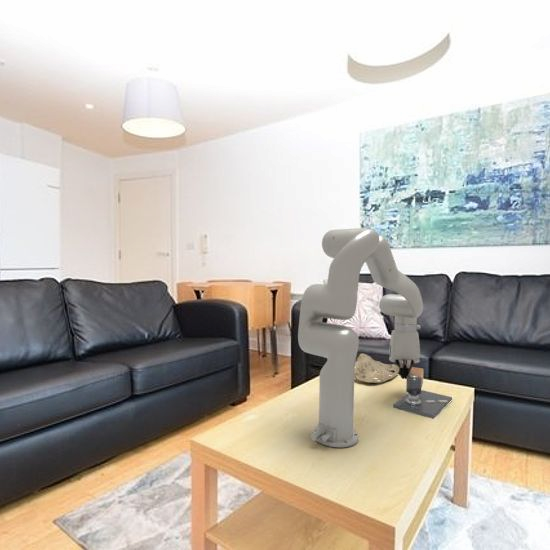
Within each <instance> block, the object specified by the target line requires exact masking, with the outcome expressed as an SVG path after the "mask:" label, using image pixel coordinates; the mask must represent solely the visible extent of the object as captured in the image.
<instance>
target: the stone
mask: <svg viewBox="0 0 550 550" xmlns="http://www.w3.org/2000/svg"><path fill="white" fill-rule="evenodd" d="M393 371H394V372H393ZM398 374H399V365H398V364H396V363H393V364H387V363H383V362H381V361H379V360H378V361H377V360H374V359H373V358H372V357H371V356H369V355H368V354H366V353H360V354H359V355H358V357H356V361H355V371H354V378H356V380H358V381H360V382H365V383H373V384H374V383H375V384H379V383H384V382H386V381H388V380H391V379H393V378H395V377H396V376H398ZM389 375H390V376H389ZM375 378H376V379H375Z"/></svg>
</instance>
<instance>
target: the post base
mask: <svg viewBox="0 0 550 550" xmlns="http://www.w3.org/2000/svg"><path fill="white" fill-rule="evenodd" d="M451 400H452V401H453V397H452V396H448V395H444V394H439V393H435V392H431V391H427V390H423V389H421V394H418V395H415V394H410V393H407V394H405V395H404V396H403V397H401V398H400V399H399V400H397V401H396V402H394V403H393V405H392V408H393V409H397V410H400V411H401V410H402V411H405V412H407V413H411V414H415V415H419V416H422V417H426V418H430V419H435V417H436V416H437V415H438V414H439V413H441V412H442V411H443V410H444V409H445V408H446V407H447V406H448V405H449V404H450V403H451V402H452V401H451ZM450 401H451V402H450ZM449 402H450V403H449ZM448 403H449V404H448ZM447 404H448V405H447ZM446 405H447V406H446ZM445 406H446V407H445ZM444 407H445V408H444ZM443 408H444V409H443ZM442 409H443V410H442ZM441 410H442V411H441Z"/></svg>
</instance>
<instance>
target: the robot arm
mask: <svg viewBox="0 0 550 550" xmlns="http://www.w3.org/2000/svg"><path fill="white" fill-rule="evenodd" d="M321 248H322V250H323V252H324V253H325V255H326V256H327V257H329V258H331V259H332V261H331V263H330V264H329V268H328V275H327V282H326V284H323V283H321V284H320V283H315V284H311V285H309V286H308V287H306V289H305V290H304V292H303V294H302V297H301V302H300V307H299V308H300V311H299V320H298V321H299V322H298V330H297V331H298V332H297V339H298V345H299V348H300V349H301V351H303V352H304V353H307V354H310V355H313V356H318V357H322V358H326V359H327V361H326V362H325V364H324V365H323V366H322V368H321V369H320V372H319V380H318V382H319V387H318V388H319V390H318V391H319V394H318V395H319V397H318V399H319V400H318V423H317V426H315V427H314V428H313V430H312V433H311V434H310V436H309V437H310V439H311V441H313V442H315V441H316V442H318V443H319V444H321V445H323V446H326V447H331V448H337V449H338V448H339V449H340V448H349V447H351V446H354V445H356V444H357V443H358V442H359V439H360V438H359V437H360V436H359V433H358V432H357V430H356V429H355V428H354V406H355V405H354V402H355V401H354V400H355V399H354V398H355V375H354V371H355V368H356V367H355V361H357V355H358V350H359V345H360V344H359V343H360V338H359V336H358V333H357V332H356V330H355V329H353V328H351V327H349V326H346V325H343V324H337V323H329V322H323V319H332V320H339V321H340V320H341V321H346V320H347V321H348V320H350V319H352V318H353V317H354V316H355V314H356V311H357V305H358V304H357V302H358V294H359V293H358V292H359V283H360V274H361V271H362V268H363V267H364V264H366V265H367V268H368V270H369V273H370V276H371V278H372V281H373V282H374V283H375V284H377V285H379V286H380V287H383V288H385V289H386V290H389V291H391V292H393V293H392V294H391V293H390V294H389V293H388V294H385V295H383V296H382V297H381V298H380V300H379V303H378V307H379V310H380V311H381V313H382V314H384V315H386V316H391V317H394V329H393V330H391V335H390V339H389V348H388V349H389V350H388V351H389V353H388V354H389V358H388V360H389V361H390V362H392V363H394V364H396V365H397V366H398V367H399V372H398V374H399V375H398V376H399V377H400V378H401V379H404V380H407V376H408V375H409V373H410V370H409V369H410V367H411V366H412V365H413V364H417V363H420V362H421V360H420V356H421V346H420V338H419V337H420V335H419V332H418V330H421V329H422V328H421V325H419V324H418V323H417V321H418V318H419V317H420V316H422V314H423V311H424V303H423V299H422V294H421V292H420V291H421V290H420V288H419V287H418V286H417V284H416V283H415V282H413V280H412V279H410V278H409V276H407V275H406V274H404V273H403V272H402V271H400V270H398V267H397V264H396V260H395V259H394V258H395V257H394V255H393V253H392V250H391V247H390V243H389V241H388V240H387V238H386V237H385V236H384V235H380V233H378V231H376V230H375V229H373V228H365V227H362V228H361V227H360V228H359V227H356V228H345V229H344V228H342V229H341V228H340V229H339V228H338V229H330V230H328V231H327V232H325V233H324V235H323V237H322V240H321ZM394 293H397V294H394ZM403 360H404V361H405V362H404V361H403Z"/></svg>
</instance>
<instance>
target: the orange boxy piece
mask: <svg viewBox="0 0 550 550" xmlns="http://www.w3.org/2000/svg"><path fill="white" fill-rule="evenodd" d="M424 370H425V369H424V368H421V367H413V366H412V367H411V369H410V370H409V374H408V376H407V379H406V383H405V384H406V386H405V387H406V388H405V389H406V390H405V391H406V393H407V394H408V393H410V394H415V395H418V394H421V390H422V389H423V388H422V387H423V383H424V372H425V371H424Z"/></svg>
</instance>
